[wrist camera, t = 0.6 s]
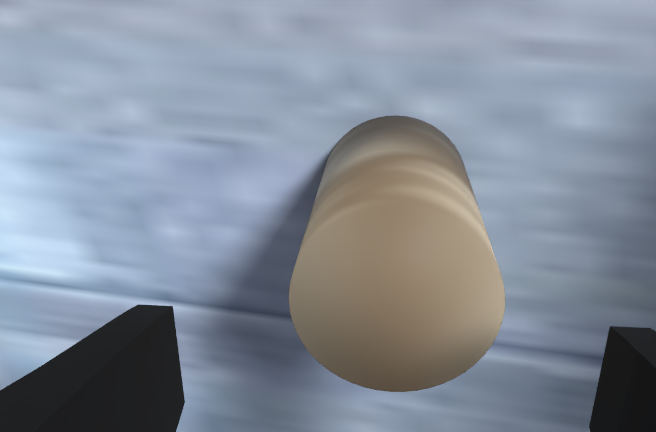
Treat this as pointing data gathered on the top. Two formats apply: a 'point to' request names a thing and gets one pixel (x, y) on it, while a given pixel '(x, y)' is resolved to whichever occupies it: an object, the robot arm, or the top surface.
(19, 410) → the robot arm
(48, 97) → the top surface
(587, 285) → the top surface
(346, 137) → the birch cylinder
